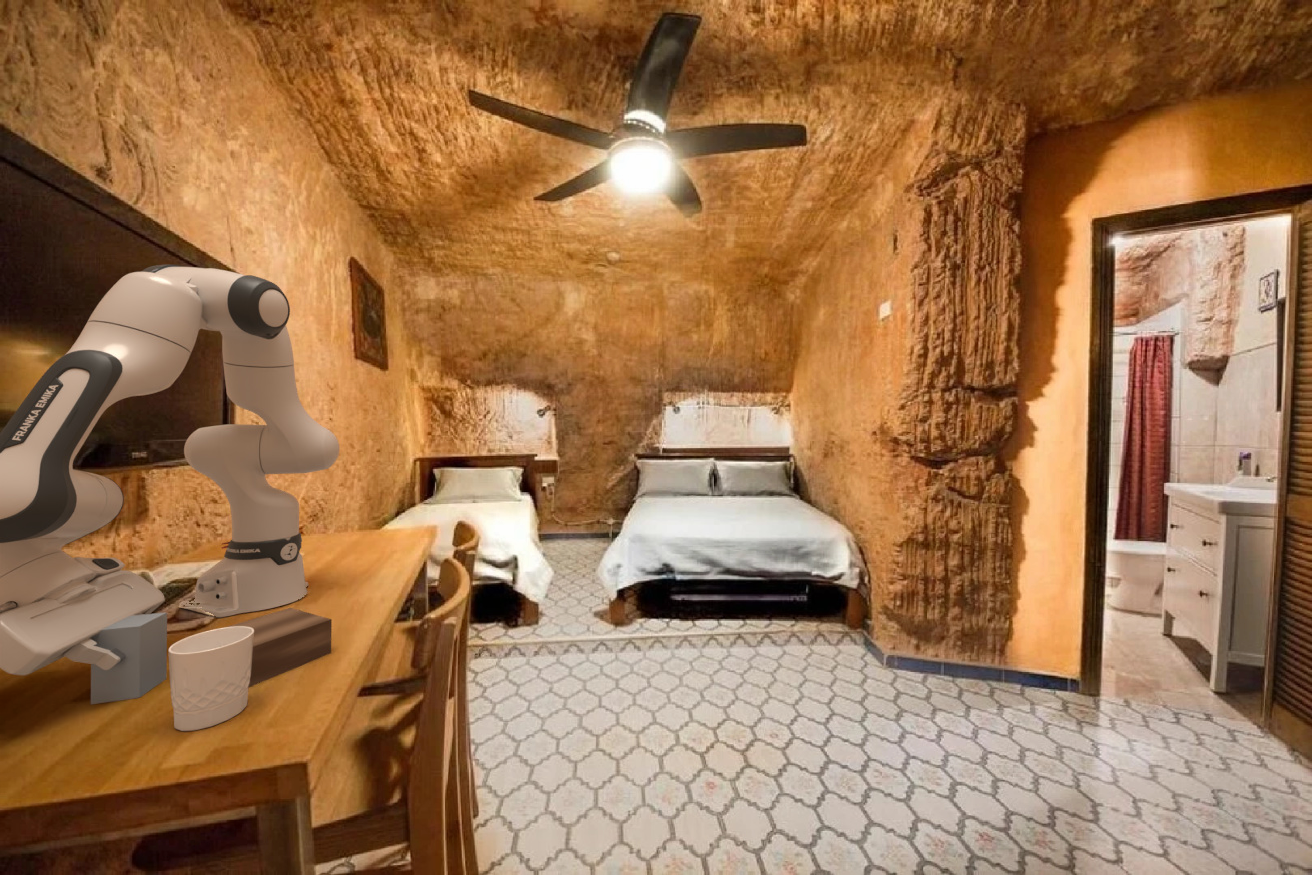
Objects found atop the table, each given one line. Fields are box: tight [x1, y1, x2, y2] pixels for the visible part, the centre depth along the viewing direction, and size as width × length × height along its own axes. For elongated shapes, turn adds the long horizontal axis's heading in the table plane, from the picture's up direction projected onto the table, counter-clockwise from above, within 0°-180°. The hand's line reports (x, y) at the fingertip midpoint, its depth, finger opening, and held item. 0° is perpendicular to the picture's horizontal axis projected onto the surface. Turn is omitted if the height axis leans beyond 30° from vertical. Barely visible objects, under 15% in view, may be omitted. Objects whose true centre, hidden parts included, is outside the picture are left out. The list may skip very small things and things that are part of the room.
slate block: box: [90, 612, 168, 705], centre depth 62 cm, size 5×5×10 cm
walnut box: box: [227, 607, 332, 688], centre depth 70 cm, size 12×12×6 cm
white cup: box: [167, 626, 254, 732], centre depth 57 cm, size 8×8×10 cm
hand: (136, 652), depth 62 cm, fingers closed on slate block, 5 cm apart
